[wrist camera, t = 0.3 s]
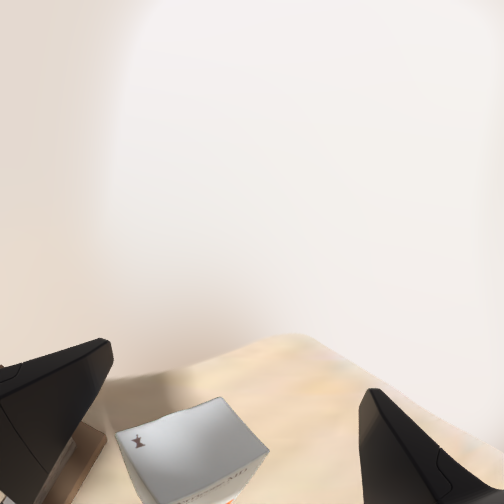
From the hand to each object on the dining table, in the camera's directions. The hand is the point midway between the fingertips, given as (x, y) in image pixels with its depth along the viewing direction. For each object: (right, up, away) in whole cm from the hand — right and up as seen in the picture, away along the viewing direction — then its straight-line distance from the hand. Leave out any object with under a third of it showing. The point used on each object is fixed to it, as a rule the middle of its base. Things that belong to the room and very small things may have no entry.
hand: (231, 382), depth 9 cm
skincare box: (-4, -15, +6) cm, 17 cm away
